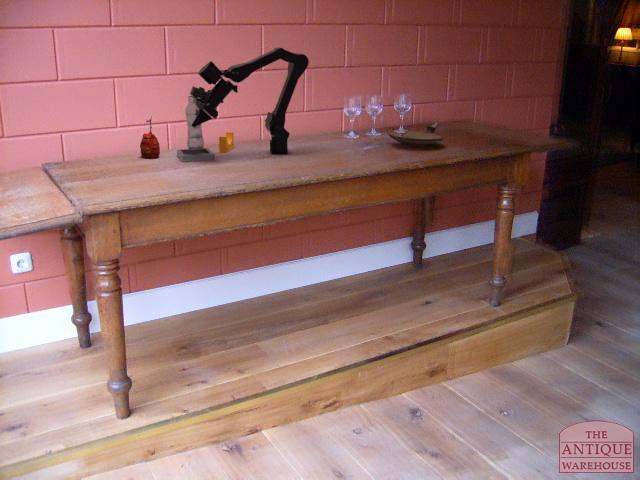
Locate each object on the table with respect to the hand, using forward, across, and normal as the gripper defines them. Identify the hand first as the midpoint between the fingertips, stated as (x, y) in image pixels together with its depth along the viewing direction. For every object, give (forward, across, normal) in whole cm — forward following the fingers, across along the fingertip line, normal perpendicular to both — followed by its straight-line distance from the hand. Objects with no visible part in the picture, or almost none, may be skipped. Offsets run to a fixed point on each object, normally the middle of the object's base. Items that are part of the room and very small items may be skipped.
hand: (190, 124), depth 245 cm
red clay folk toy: (+19, -7, -2) cm, 20 cm away
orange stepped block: (-1, -12, +20) cm, 23 cm away
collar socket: (+8, 0, +10) cm, 13 cm away
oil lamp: (-58, +2, +78) cm, 97 cm away
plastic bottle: (+6, 0, +8) cm, 10 cm away
